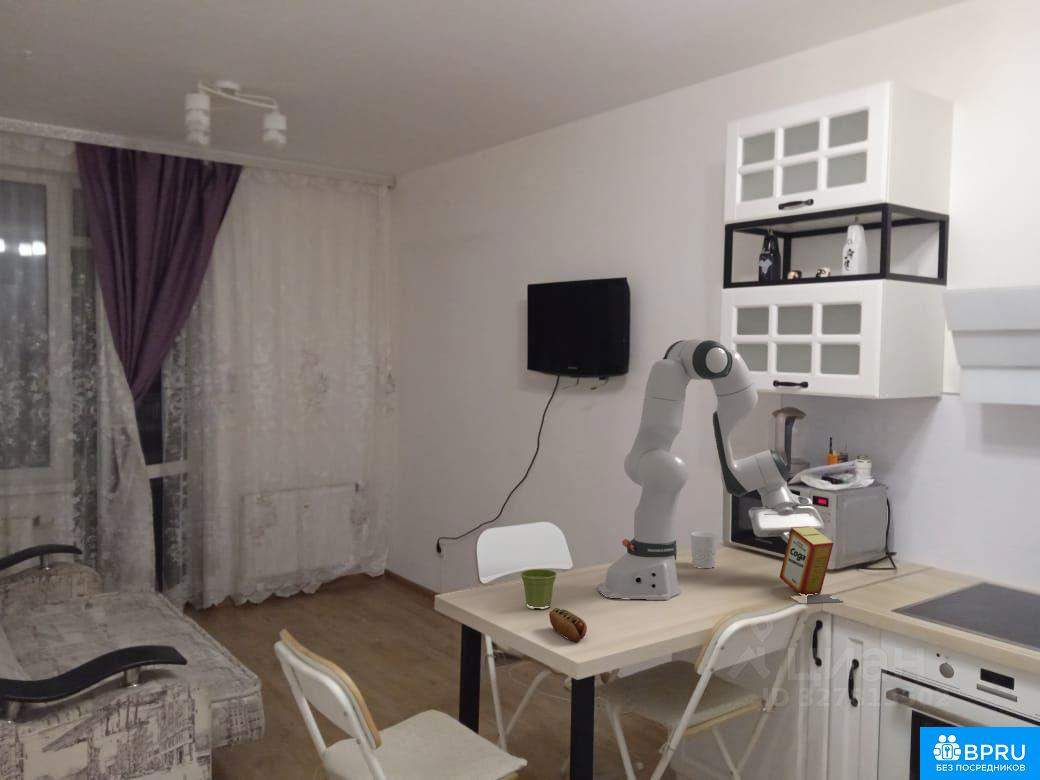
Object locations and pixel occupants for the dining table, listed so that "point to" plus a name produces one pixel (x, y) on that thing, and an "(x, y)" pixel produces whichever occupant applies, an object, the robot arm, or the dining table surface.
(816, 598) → the mat
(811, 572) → the baking soda box
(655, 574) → the robot arm
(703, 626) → the dining table surface
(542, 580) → the plant pot
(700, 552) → the white cup
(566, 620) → the hot dog
